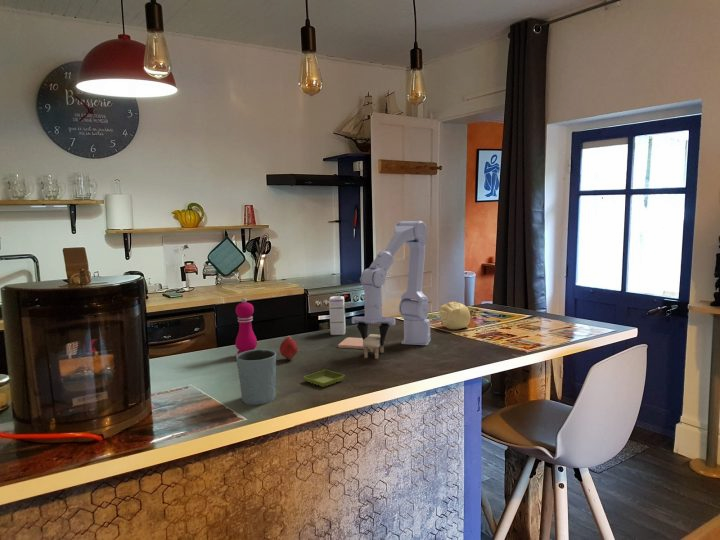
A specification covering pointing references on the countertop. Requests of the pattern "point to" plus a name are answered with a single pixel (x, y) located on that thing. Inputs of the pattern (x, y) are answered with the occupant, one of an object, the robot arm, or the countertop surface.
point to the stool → (372, 345)
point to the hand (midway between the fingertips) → (373, 345)
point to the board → (352, 343)
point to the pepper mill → (245, 327)
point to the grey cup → (257, 375)
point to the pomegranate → (288, 348)
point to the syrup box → (337, 315)
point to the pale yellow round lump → (454, 315)
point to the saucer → (324, 378)
